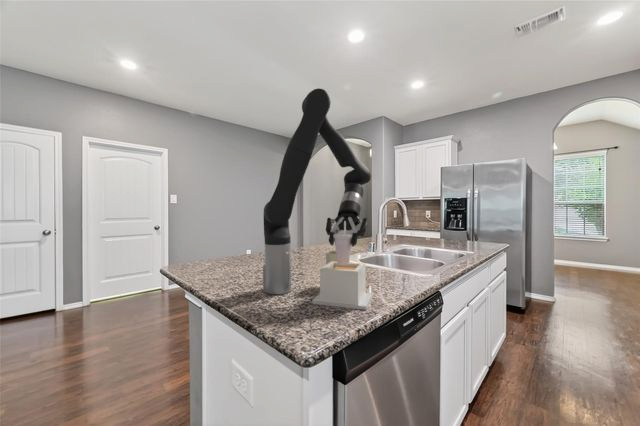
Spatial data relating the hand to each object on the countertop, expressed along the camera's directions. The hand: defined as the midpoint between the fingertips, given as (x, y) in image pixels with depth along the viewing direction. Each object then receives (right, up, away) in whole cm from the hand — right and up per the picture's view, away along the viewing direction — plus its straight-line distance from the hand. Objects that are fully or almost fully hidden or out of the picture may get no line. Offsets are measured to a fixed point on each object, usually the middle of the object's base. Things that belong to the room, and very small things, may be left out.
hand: (341, 244), depth 87 cm
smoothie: (+1, -7, +2) cm, 7 cm away
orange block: (+1, -16, +2) cm, 16 cm away
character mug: (-1, -18, +17) cm, 25 cm away
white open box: (+1, -18, +2) cm, 18 cm away
